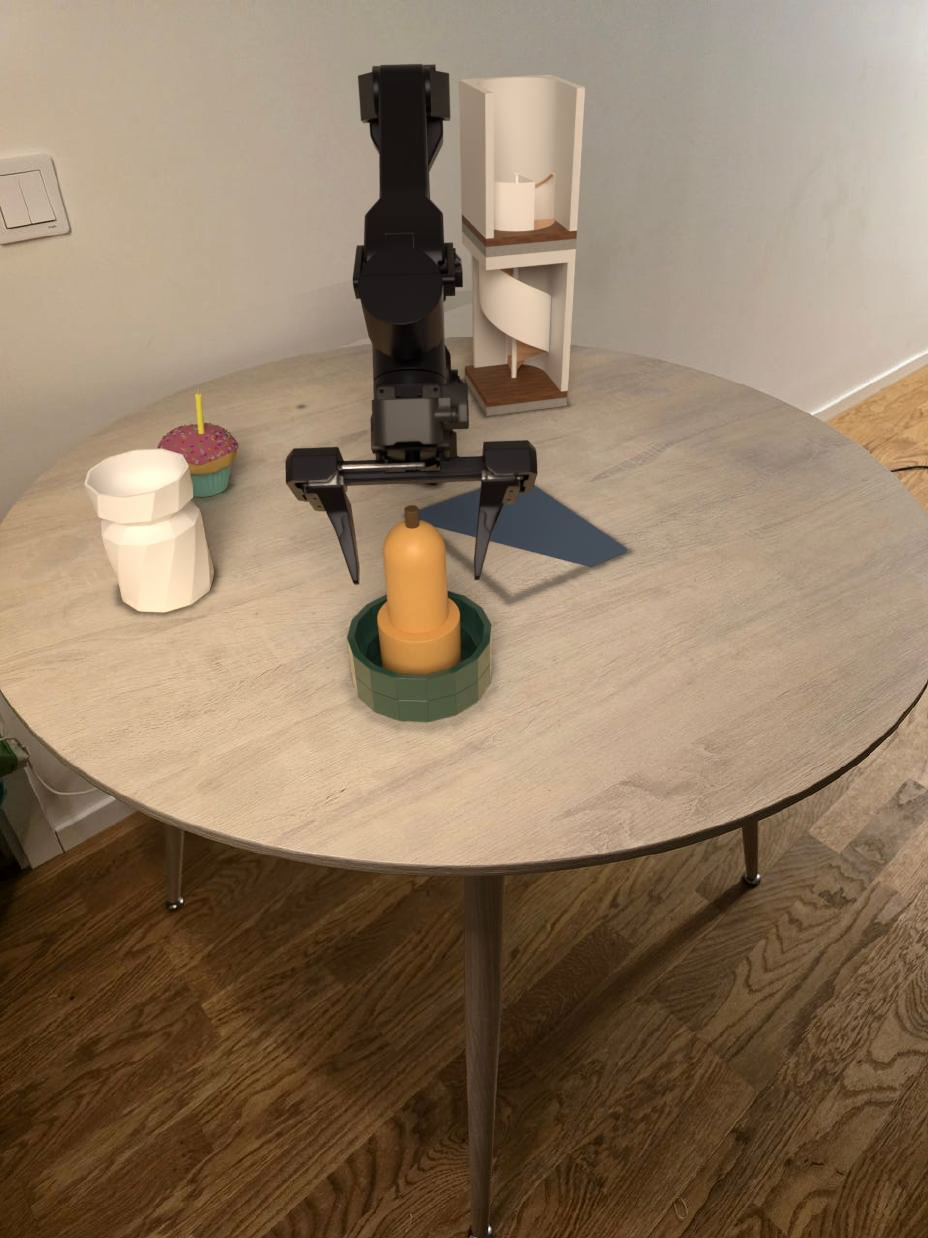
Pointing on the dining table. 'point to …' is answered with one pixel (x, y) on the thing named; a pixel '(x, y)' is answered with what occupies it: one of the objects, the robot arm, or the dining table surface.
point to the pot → (421, 692)
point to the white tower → (520, 235)
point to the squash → (417, 601)
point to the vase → (151, 528)
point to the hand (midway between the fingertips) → (416, 581)
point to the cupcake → (203, 452)
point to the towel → (529, 527)
